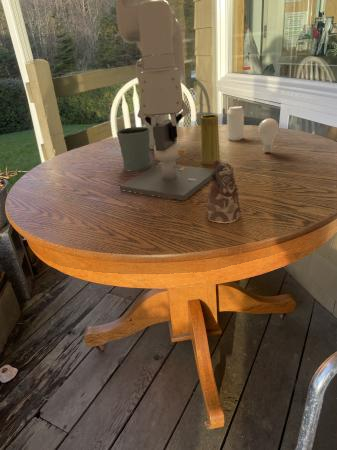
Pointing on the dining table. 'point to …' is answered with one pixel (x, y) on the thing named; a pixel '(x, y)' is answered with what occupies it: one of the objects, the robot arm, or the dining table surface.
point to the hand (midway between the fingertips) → (166, 140)
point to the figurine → (223, 194)
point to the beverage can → (235, 123)
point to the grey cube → (166, 143)
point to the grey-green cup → (135, 147)
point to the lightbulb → (268, 133)
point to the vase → (209, 139)
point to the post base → (169, 180)
